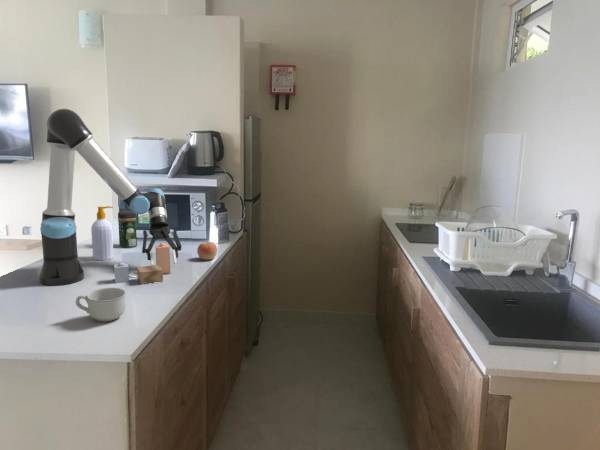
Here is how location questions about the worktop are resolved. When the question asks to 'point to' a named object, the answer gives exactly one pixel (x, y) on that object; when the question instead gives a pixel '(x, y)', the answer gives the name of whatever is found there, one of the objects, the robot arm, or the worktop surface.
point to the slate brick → (121, 272)
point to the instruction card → (133, 274)
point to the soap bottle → (102, 237)
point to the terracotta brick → (163, 257)
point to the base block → (149, 274)
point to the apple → (207, 250)
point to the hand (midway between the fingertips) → (164, 265)
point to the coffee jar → (127, 229)
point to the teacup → (104, 303)
